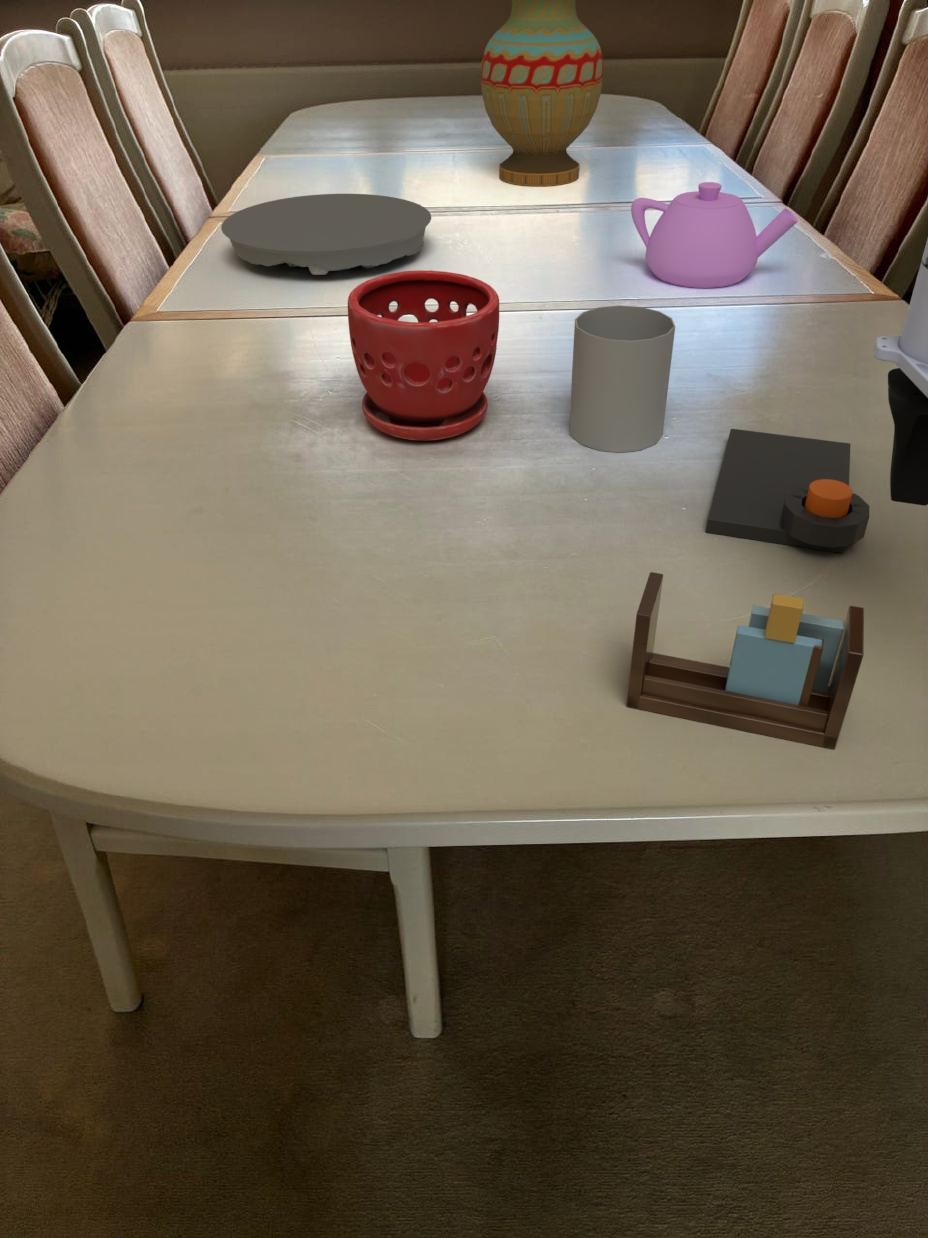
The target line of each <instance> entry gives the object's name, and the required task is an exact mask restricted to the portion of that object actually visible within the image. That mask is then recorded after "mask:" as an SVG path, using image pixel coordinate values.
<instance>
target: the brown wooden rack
mask: <svg viewBox="0 0 928 1238" xmlns="http://www.w3.org/2000/svg"><path fill="white" fill-rule="evenodd" d="M663 580H664V573H659V572H654V571H650V572H649V574H648V577H647V580H646V584H645V587H644V590H643V593H642V596H641V599H640V602H639V605H638V609H637V611H636V616H635V622H634V623H635V624H634V634H633V640H632V641H633V642H632V651H631V660H630V667H629V677H628V685H627V694H626V702H625V703H626V704H625V706H626V707H627V708H631V709H632V708H633V709H637V710H642V711H647V712H652V713H656V714H661V715H665V716H671V717H676V718H680V719H685V720H691V721H696V722H700V723H705V724H710V725H713V726H714V725H715V726H719V727H724V728H730V729H733V730H739V731H743V732H749V733H753V734H759V735H762V736H767V737H773V738H777V739H781V740H787V741H793V742H796V743H801V744H806V745H812V746H816V747H822V748H825V749H826V748H827V749H831V750H835V749H836V748H837V743H838V742H839V738H840V735H841V731H842V728H843V725H844V724H843V723H844V721H845V717H846V714H847V711H848V709H849V708H848V707H849V705H850V702H851V698H852V694H853V691H854V688H855V685H856V681H857V678H858V676H859V675H858V674H859V672H860V668H861V665H862V661H863V659H864V653H865V652H864V651H865V650H864V649H865V608H864V607H861V606H856V605H849V606H848V609H847V612H846V616H845V619H844V620H841V619H835V618H829V617H824V616H818V615H813V614H812V615H811V614H807V613H806V614H805V613H802V615H801V619H800V623H799V627H798V631H797V635H798V636H804V637H810V638H820V639H823V640H824V644H823V651H822V655H821V659H820V662H819V666H818V670H817V674H816V677H815V681H814V685H813V688H812V692H811V696H810V700H809V703H808V707H806V706H801V705H796V704H791V703H786V702H780V701H775V700H770V699H765V698H760V697H755V696H750V695H745V694H740V693H735V692H730V691H725V688H726V683H727V678H728V673H729V668H730V666H726V665H725V666H724V665H719V664H714V663H708V662H704V661H698V660H692V659H688V658H682V657H676V656H671V655H667V654H661V653H656V652H654V648H655V641H656V633H657V626H658V618H659V611H660V603H661V595H662V589H663ZM769 611H770V607H765V606H760V605H752V608H751V613H750V618H749V622H748V627H753V628H759V629H765V630H766V625H767V620H768V616H769Z"/></svg>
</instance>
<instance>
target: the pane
mask: <svg viewBox="0 0 928 1238" xmlns="http://www.w3.org/2000/svg"><path fill="white" fill-rule="evenodd" d="M804 602H805V599H804V598H802V597H798V596H791V595H787V594H786V595H785V594H780V593H773V594H772V597H771V602H770V607H769V608H770V611H769V616H768V620H767V625H766V630H765V629H759V628H753V627H749V625H743V624H742V625H741V624H738V625H737V626H736V633H735V638H734V642H733V648H732V653H731V658H730V663H729V667H730V668H729V673H728V678H727V683H726V688H725V691H730V692H735V693H740V694H745V695H750V696H755V697H760V698H765V699H770V700H775V701H780V702H786V703H791V704H796V705H801V706H806V707H808V703H809V700H810V696H811V692H812V688H813V685H814V681H815V677H816V674H817V670H818V666H819V662H820V659H821V655H822V651H823V644H824V640H823V639H820V638H810V637H804V636H798V635H797V631H798V627H799V623H800V619H801V615H802V614H803V611H804V604H805V603H804Z"/></svg>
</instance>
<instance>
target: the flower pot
mask: <svg viewBox="0 0 928 1238" xmlns="http://www.w3.org/2000/svg"><path fill="white" fill-rule="evenodd" d="M428 300H434V301H436V302H437V306H438V307H437V309H436V310H435V311H430V310H428V309H427V308H426V307H427V306H426V303H427V301H428ZM393 302H396V305H397V306H396V308H395V310H394V311H391V310H390V305H391V304H392V303H393ZM452 302H454V303H456V305H457V306H458V307H457V310H456V311H454V310H453V309H452V308H451V304H452ZM469 305H473V306H474V307H475V309H476V312H473V313H470V314H469V315H467V314H468V313H467V310H468V306H469ZM406 315H412V316H413V317H414V318H415V319H416V320H417V321H404V320H399V319H400V318H401V317H403V316H406ZM433 320H434V321H433ZM347 321H348V331H349V339H350V340H349V341H350V346H351V351H352V356H353V360H354V365H355V368H356V371H357V374H358V377H359V379H360V382H361V384H362V387H364V389H365V393H364V395H363V397H362V399H361V400H362V401H361V408H362V412H363V415H364V416H365V418H366V420H367V421H368V422H369V423H370V424H371V425H372V426H373V427H374V428H376V429H377V430H378V431H380V432H382V433H385V434H387V435H389V436H392V437H395V438H399V439H404V440H410V441H424V442H425V441H437V440H438V441H439V440H444V439H449V438H453V437H456V436H460V435H462V434H464V433H466V432H468V431H470V430H471V429H473V428H474V427H476V426H477V425H478V424H479V423H480V422H481V421H482V420H483V419H484V417H485V416H486V413H487V411H488V408H489V407H488V406H489V403H488V402H489V401H488V398H487V395H486V393H485V392H484V391H485V389H486V387H487V385H488V382H489V381H490V378H491V374H492V371H493V368H494V364H495V359H496V355H497V349H498V348H497V347H498V345H497V344H498V339H499V338H498V336H499V330H500V297H499V295H498V293H497V291H496V290H495V289H494V287H492V286H491V285H490V284H489V283H487V282H485V281H483V280H481V279H479V278H476V277H473V276H469V275H467V274H462V273H458V272H457V273H456V272H450V271H442V270H441V271H440V270H423V269H422V270H404V271H403V270H402V271H397V272H391V273H386V274H383V275H379V276H376V277H373V278H369V279H367V280H366V281H363V282H362V283H360V284H358V285H357V286H356V287H354V288H353V289H352V290H351V292H349V295H348V297H347Z"/></svg>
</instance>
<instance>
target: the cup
mask: <svg viewBox="0 0 928 1238" xmlns="http://www.w3.org/2000/svg"><path fill="white" fill-rule="evenodd" d="M573 332H574V333H573V348H572V365H571V385H570V386H571V387H570V403H569V404H570V405H569V421H568V422H569V423H568V429H569V435H570V437H571V438H572V439H574V440H575V441H576V442H578V444H579V445H581V446H583V447H588V448H590V449H593V450H596V451H601V452H610V453H621V454H622V453H631V452H638V451H643V450H645V449H647V448H650V447H652V446H655V445H656V444H657V443H658V442H659V441H660V440H661V438H662V437H663V433H664V427H665V426H664V425H665V417H666V410H667V409H666V408H667V400H668V399H667V398H668V391H669V383H670V376H671V375H670V374H671V366H672V357H673V349H674V340H675V332H676V324H675V322H674V320H673V318H672V317H671V316H669V315H667V314H666V313H664V312H661V311H659V310H656V309H651V308H648V307H643V306H635V305H620V304H619V305H609V306H599V307H595V308H592V309H589V310H585V311H583V312H581V313H579V315H578V316H577V317H575V319H574V329H573Z"/></svg>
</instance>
